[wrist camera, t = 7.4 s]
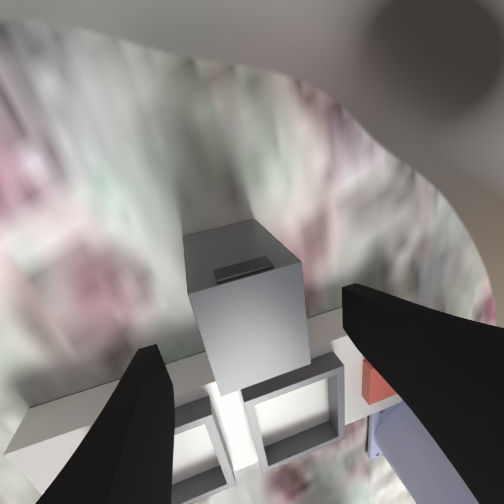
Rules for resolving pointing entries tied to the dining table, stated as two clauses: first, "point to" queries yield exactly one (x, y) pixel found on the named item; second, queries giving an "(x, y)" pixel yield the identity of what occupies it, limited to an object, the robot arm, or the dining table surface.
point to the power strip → (224, 416)
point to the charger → (247, 303)
